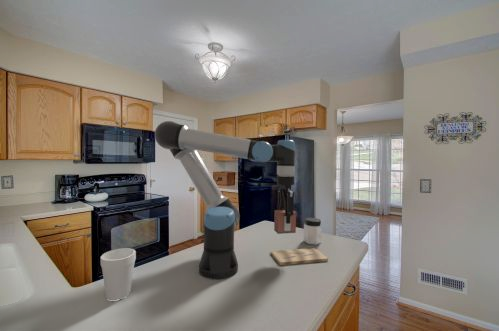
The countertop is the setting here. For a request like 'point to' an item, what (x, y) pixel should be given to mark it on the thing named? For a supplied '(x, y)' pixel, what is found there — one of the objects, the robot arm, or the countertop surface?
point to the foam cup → (118, 272)
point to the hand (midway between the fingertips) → (284, 228)
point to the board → (298, 256)
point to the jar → (312, 231)
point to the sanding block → (280, 222)
